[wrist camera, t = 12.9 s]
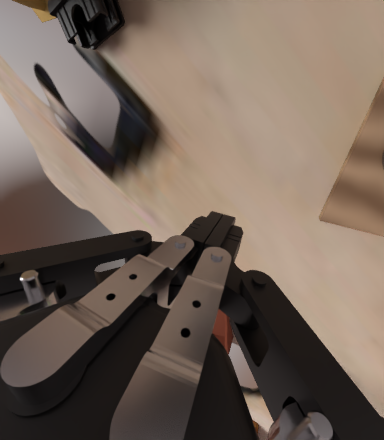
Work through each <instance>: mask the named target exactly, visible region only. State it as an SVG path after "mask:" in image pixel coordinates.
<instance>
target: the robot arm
mask: <svg viewBox="0 0 384 440" xmlns="http://www.w3.org/2000/svg"><path fill="white" fill-rule="evenodd" d="M234 223H235V217H232V216H228V215H223V214H221V213H217V212H214V211H211V213H210V214H209V215H208V216H207V217H203V216H201V217H198V218H196V219H195V220H194V221H193V222H192V223H191V224H190V225H189V227H188V228H187V229H186V230H185V231H184V232H183V233H182V234H181V235H176V236H172V237H170V238H169V239H167V240H166V241H165V242H155V241H152V236H151V235H150V234H149V233H148V232H146V231H141V230H136V231H130V232H124V233H119V234H113V235H108V236H103V237H97V238H92V239H86V240H81V241H75V242H70V243H65V244H59V245H54V246H48V247H42V248H37V249H31V250H26V251H20V252H15V253H10V254H4V255H0V440H259V437H258V434H257V432H256V429H255V426H254V423H253V420H252V418H251V415H250V412H249V409H248V406H247V404H246V401H245V398H244V395H243V393H242V390H241V387H240V384H239V381H238V378H237V376H236V373H235V370H234V367H233V365H232V362H231V359H230V357H229V355H228V353H227V351H226V349H225V348H224V346H223V345H222V343H221V342H220V341H219V340H218V339H217V338H216V337H215V336H214V335H213V334H212V332H213V328H214V324H215V320H216V317H217V313H218V309H220V310H221V311H222V312H223V313H225V314H226V315H227V316H228V317H230V318H229V322H230V325H231V328H232V330H233V332H234V334H235V337H236V339H237V341H238V343H239V345H240V348H241V350H242V352H243V354H244V357H245V359H246V361H247V363H248V365H249V368H250V370H251V372H252V374H253V376H254V379H255V381H256V383H257V386H258V388H259V390H260V392H261V394H262V397H263V399H264V401H265V403H266V406H267V408H268V410H269V412H270V414H271V417H272V419H273V421H274V422H273V424H272V425H271V427H270V429H269V433H268V440H384V420H383V419H382V418H381V417H380V415H379V414H378V413H377V411H376V410H375V409H374V408H373V406H372V405H371V404H370V403H369V401H368V400H367V399H366V397H365V396H364V395H363V394H362V392H361V391H360V390H359V389H358V387H357V386H356V385H355V384H354V382H353V381H352V380H351V378H350V377H349V376H348V375H347V373H346V372H345V371H344V370H343V368H342V367H341V366H340V364H339V363H338V362H337V361H336V359H335V358H334V357H333V356H332V354H331V353H330V352H329V351H328V349H327V348H326V347H325V345H324V344H323V343H322V342H321V340H320V339H319V338H318V337H317V335H316V334H315V333H314V331H313V330H312V329H311V328H310V326H309V325H308V324H307V323H306V321H305V320H304V319H303V318H302V316H301V315H300V314H299V312H298V311H297V310H296V309H295V307H294V306H293V305H292V304H291V302H290V301H289V300H288V298H287V297H286V296H285V295H284V293H283V292H282V291H281V290H280V288H279V287H278V286H277V285H276V283H275V282H274V281H273V280H272V278H271V277H269V276H268V275H267V274H265V273H263V272H260V271H257V270H249V271H246V272H243V271H242V270H240V269H239V268H238V267H237V266H236V265H235V263H234V262H235V259H236V256H237V254H238V250H239V247H240V243H241V239H242V235H243V231H242V228H241V227H238V226H234ZM123 258H125V264H124V265H123V266H122V267H119V268H115V269H111V270H107V271H103V272H96V271H94V270H95V268H96V267H97V266H98V265H100V264H103V263H107V262H111V261H115V260H119V259H123Z"/></svg>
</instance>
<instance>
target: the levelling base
mask: <svg viewBox="0 0 384 440" xmlns="http://www.w3.org/2000/svg"><path fill="white" fill-rule="evenodd" d="M383 152H384V78H383V80H382V82H381V85H380V87H379V89H378V91H377V93H376V95H375V98H374V100H373V102H372V104H371V106H370V108H369V110H368V113H367V115H366V117H365V119H364V121H363V123H362V126H361V128H360V130H359V132H358V134H357V136H356V138H355V141H354V143H353V145H352V147H351V149H350V151H349V154H348V156H347V158H346V160H345V162H344V164H343V166H342V169H341V171H340V173H339V175H338V177H337V179H336V181H335V184H334V186H333V188H332V190H331V192H330V194H329V197H328V199H327V201H326V203H325V205H324V207H323V209H322V212H321V214H320V216H319V219H320V221H324V222H328V223H332V224H336V225H339V226H343V227H347V228H351V229H355V230H359V231H363V232H367V233H371V234H375V235H379V236H383V237H384V169H383V165H382V156H383Z"/></svg>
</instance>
